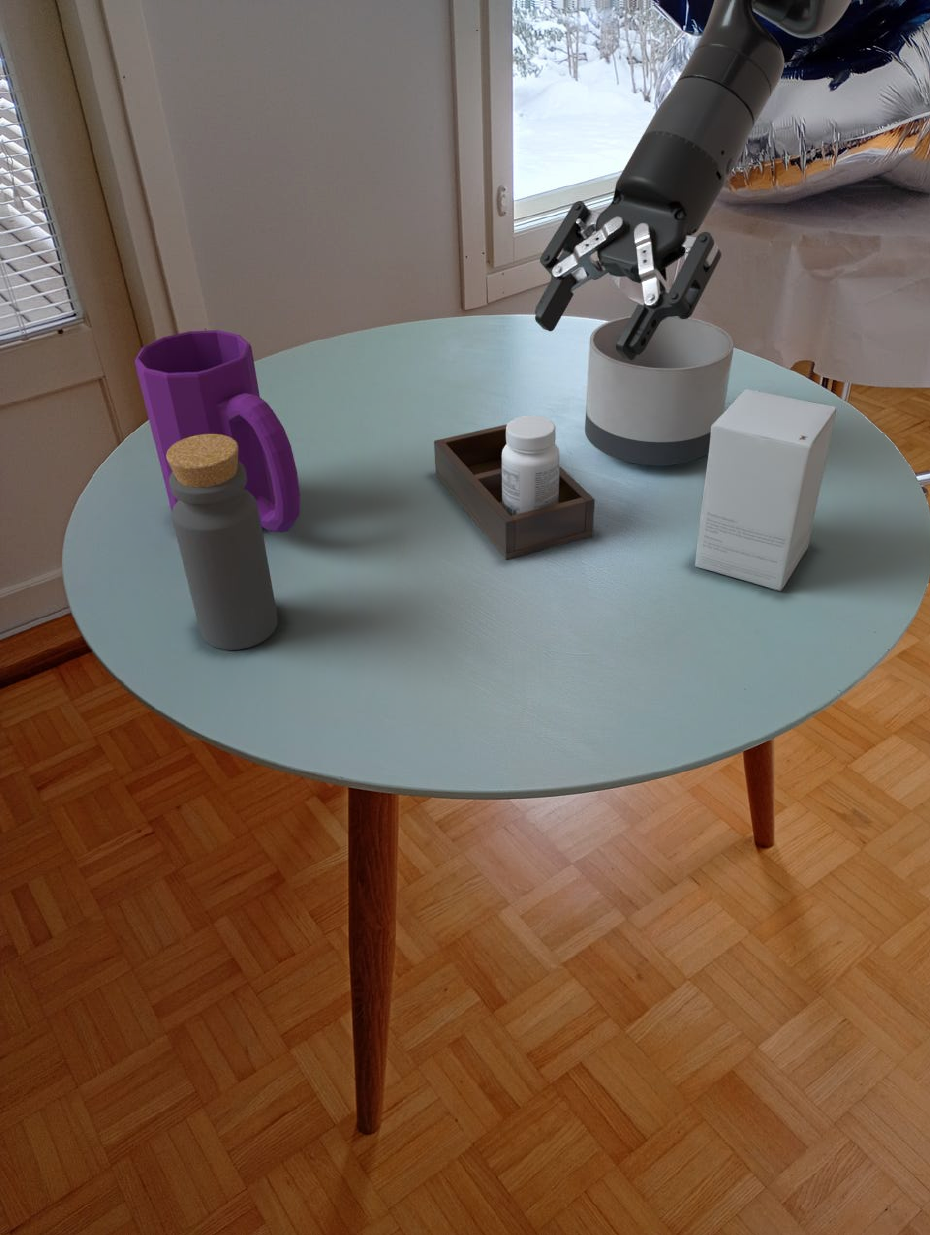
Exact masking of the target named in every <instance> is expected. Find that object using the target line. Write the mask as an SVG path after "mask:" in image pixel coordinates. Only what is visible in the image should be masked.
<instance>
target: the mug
mask: <svg viewBox="0 0 930 1235" xmlns="http://www.w3.org/2000/svg"><path fill="white" fill-rule="evenodd" d="M134 365H135V367H136V368H135V369H136V373H137V377H138V381H139V385H140V389H141V393H142V397H143V401H144V404H145V405H144V406H145V408H146V409H145V410H146V414H147V418H148V422H149V426H150V430H151V433H152V437H153V438H152V439H153V442H154V446H155V450H156V453H157V454H156V455H157V458H158V463H159V466H160V470H161V474H162V479H163V482H164V486H165V490H166V495H167V498H168V499H167V500H168V502H169V507H170V510H171V512H172V511H173V508H174V506H175V505H176V503H177V502H178V501H179V500H178V499H177V498H176V497H174V495H173V494H172V492H171V488H170V484H169V477H170V475H171V473H172V472H173V471H172V469H171V467H170V465H169V463H168V460H167V458H166V454H167V451H168V449H169V448H170V447H171V446H172V445H173V444H175V443H176V442H178V441H180V440H182V439H185V438H188V437H191V436H196V435H202V434H220V435H225V436H228V437H230V438H232V439H234V440H235V441H236V442H237V444H238V461H239V462H241V463H242V464H243V466H244V467H245V470H246V475H247V483H246V486H245V487H244V489H245V490H247V491H248V492H250V493H251V494H252V495H253V496H254V498H255V499H256V502H257V506H258V511H259V516H260V521H261V527H262V529H263V528H264V529H266V530H267V531H269V532H272V533H286V532H288V531H289V530H291V528H293V526H294V525H295V523H296V522H297V520H298V518H300V513H301V490H300V482H299V475H298V468H297V465H296V461H295V457H294V453H293V449H292V445H291V443H290V442H291V441H290V440H289V437H288V434H287V432H286V430H285V427H284V426H283V425H282V422H281V421H280V419H279V418H278V416H277V415H276V412H275V411H274V410H273V409H272V407H271V405H269V403H268V402H267V401H265V400H264V399H263V398H262V397H261V395H260V390H259V384H258V378H257V372H256V365H255V360H254V354H253V348H252V344H250V343H249V342H248V341H247V340H246V339H245V338H244V337H243V336H242V335H241V334H237V333H234V332H228V331H224V330H218V329H213V330H211V329H210V330H188V331H185V332H181V333H176V334H171V335H167V336H163V337H160V338H159V339H157V340H155V341H153V342H151V343H149V344H147V345H144V346H143V347H142V348H141V349H140V351H139V353H138V354H137V356H136V358H135V360H134Z"/></svg>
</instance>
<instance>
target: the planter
mask: <svg viewBox="0 0 930 1235" xmlns="http://www.w3.org/2000/svg"><path fill="white" fill-rule="evenodd" d="M631 316H632V315H628V316H624V317H619V318H616V319H612V320H610V321H606V322H605V323H602V324H601V325H599V326H597V327H596V328H594V330H593V331H592V332H591V334H590V336H589V347H588V362H587V363H588V365H587V380H586V381H587V382H586V383H587V385H586V401H585V402H586V403H585V419H584V420H585V421H584V433H585V437H586V439H587V440H588V441H589V443H590V445H592V446H593V447H595V448H596V449H597V450H598V451H600V452H601V453H604V454H605V455H607V456H610V457H612V458H614V459H617V460H620V461H623V462H628V463H633V464H636V465H637V464H639V465H646V466H671V465H677V464H678V465H679V464H684V463H687V462H691V461H694V460H697V459H701V458H703V457H705V456H707V455H709V447H710V437H711V426H712V425H713V424H714V423H715V422H716V420H717V419H718V418H719V417H720V416H721V415H722V414H723V413H724V412H725V411H726V402H727V397H728V396H727V395H728V390H729V382H730V375H731V370H732V362H733V356H734V348H735V343H734V340H733V337H732V336H731V335H730V334H729V332H727V331H726V330H724V329H723V328H721V327H720V326H717V325H715V324H713V323H711V322H708V321H705V320H702V319H698V318H695V317H689V318H687V319H680V318H679V317H678V316H674V317H667V318H666V319H665V320H662V321H661V322H660V324H659V325H658V327H657V329H656V331H655V332H654V334H653V336H652V338H651V339H650V341H649V343H648V345H647V346H646V348H645V350H644V351H643V352H642V353H641V354H640V355H636V357H635V358H634V359H633V360H628V359H626V358H623V357H622V356H621V355H620V353H619V352H618V351H617V350H616V343H617V341H618V339H619V337H620V336H621V334H622V332H623V330H624V328H625V327H626V325H627V323H628V321H629V320H630V318H631Z"/></svg>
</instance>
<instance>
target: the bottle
mask: <svg viewBox="0 0 930 1235" xmlns="http://www.w3.org/2000/svg"><path fill="white" fill-rule="evenodd" d="M166 458H167V460H168V463H169V465H170V467H171V469H172V471H173V472H172V473H171V475H170V477H169V484H170V488H171V492H172V494H173V495H174V497H176V498H177V499H178V500H179V501H178V502H177V503H176V505H175V506H174V508H173V511H171V517H172V518H171V519H172V524H173V528H174V532H175V536H176V539H177V544H178V548H179V552H180V553H179V554H180V556H181V560H182V564H183V568H184V573H185V576H186V577H185V578H186V581H187V585H188V590H189V593H190V598H191V602H192V605H193V610H194V614H195V617H196V622H197V626H198V627H199V633H200V635H201V637H202V639H203V640H204V641H205V642H206V643H207V644H208V645H209V646H211V647H213V648H216V649H220V650H223V651H224V650H225V651H235V650H236V651H237V650H244V649H249V648H251V647H254V646H257V645H259V644H261V643H263V642H265V641H266V640H267V639H268V638H270V637H271V636H272V635H273V633H274V632H275V631H276V629H277V626H278V624H279V623H278V622H279V621H278V620H279V618H278V612H277V604H276V599H275V594H274V588H273V582H272V577H271V571H270V566H269V560H268V555H267V554H268V553H267V550H266V542H265V537H264V532H263V527H262V526H261V521H260V516H259V511H258V506H257V502H256V499H255V498H254V496H253V495H252V494H251V493H250V492H248V491H247V490H245V489H244V487H245V486H246V483H247V475H246V470H245V467H244V466H243V464H242V463H241V462H239V461H238V444H237V442H236V441H235V440H234V439H232V438H230V437H228V436H225V435H220V434H202V435H196V436H191V437H188V438H185V439H182V440H180V441H178V442H176V443H175V444H173V445H172V446H171V447H170V448H169V449H168V451H167V454H166Z"/></svg>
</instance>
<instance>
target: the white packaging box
mask: <svg viewBox="0 0 930 1235" xmlns="http://www.w3.org/2000/svg"><path fill="white" fill-rule="evenodd" d="M837 410H838V408H837V407H836V406H833V405H828V404H823V403H822V404H821V403H816V402H812V401H806V400H801V399H796V398H793V397H787V396H782V395H777V394H773V393H767V392H763V391H758V390H753V389H748V388H744V390H743V391H742V392H741V393H740V394H739V395H738V396H737V398H735V400H734V401H733V402H732V403H731V405H730V406H729V407H728V408H727V409H725V410H724V413H723V414H722V415H721V416H720V417H719V418H718V419H717V420H716V422H715V423H714V424H713V425H712V426H711V437H710V447H709V453H708V454H707V456H708V457H707V464H706V470H705V471H706V472H705V479H704V488H703V494H702V503H701V511H700V518H699V526H698V533H697V534H698V536H697V545H696V552H695V562H694V566H695V567H696V568H699V569H703V570H706V571H711V572H714V573H717V574H720V575H724V576H727V577H730V578H734V579H738V580H740V581H741V580H742V581H746V582H747V583H751V584H755V585H758V586H762V587H765V588H768V589H772V590H776V591H778V592H781V591H783V589H784V587H785V586H786V584H787V583H788V580H789V579H790V577H791V576H792V575H793V573H794V571H795V569H796V568H797V567H798V565H799V563H800V561H801V560H802V558H803V556H804V555H805V553H806V551H807V549H809V544H810V539H811V534H812V529H813V525H814V519H815V514H816V511H817V505H818V501H819V496H820V491H821V486H822V481H823V477H824V473H825V468H826V463H827V458H828V453H829V448H830V443H831V438H832V434H833V429H834V425H835V419H836V414H837Z"/></svg>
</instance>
